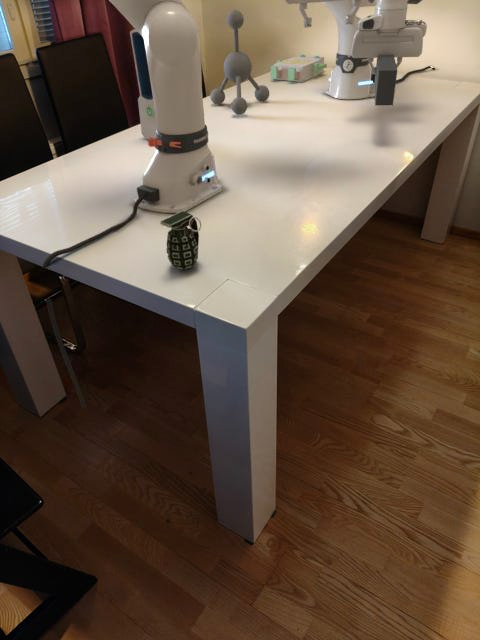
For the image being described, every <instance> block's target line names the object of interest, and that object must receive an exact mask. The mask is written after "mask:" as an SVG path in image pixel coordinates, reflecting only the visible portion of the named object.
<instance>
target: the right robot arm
mask: <svg viewBox="0 0 480 640" xmlns="http://www.w3.org/2000/svg"><path fill="white" fill-rule="evenodd" d="M422 1H423V0H361V6H360V8H369V7H374V13H373V14H369V15H368V16H364V17H362V18H361V17H359V16H357V14H356V15H355V17H354V24H352V25H347V24H346V15H350V13H351V11H352V9H353V7H354V5H352V0H345V1H330V2H322V4H323V5H324V6H325V7H326V8H327V9H328V10H329V11H330V12H331V13H332V15H333V17H334V20H335V21H336V25H337V36H338V37H337V38H338V39H337V41H338V42H337V52H336V56H335V66H334V67H333V68H332V69H331V73H330V78H328V82H329V88H328V89H326V90H325V95H328V96H331V97H332V98H335V99H340V100H360V99H366V98H375V86H374V82H375V74H376V66H374V64H373V62H374V61H375V60H374V59H377V58H378V56H382V55H394V58H396V66H397V69H398V68H399V67H400V65H401V64H402V62H403V58H419V57H420V56H421V55H422V54H423V46H424V37H425V36H426V33H427V29H428V28H427V27H428V24H427V23H426V22H425V21H423V19H407V13H408V9H409V7H408V5H419V4H420V3H421V2H422ZM430 66H431V65H427V66H425V67H423V68H420V69H415V70H411V71H408V72H406V74H405V75H403V76H402V77H401V78H399V79H396V84H397V83H400V82H403V81H404V80H405V79H406V78H407V77H408V76H409V75H412V74H415V73H416V74H417V73H420V72H421V73H422V72H423V71H427V70H429V69H431V70H432V71H435V70H436V68H435V66H433V67H434V68H431V67H430Z"/></svg>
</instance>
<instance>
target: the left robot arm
mask: <svg viewBox="0 0 480 640" xmlns="http://www.w3.org/2000/svg"><path fill="white" fill-rule="evenodd" d="M108 1H109V2H110V4H112V5H113V6H114V7H115V9H117V11H118V12H119V13H120V14H121V15H122V16H123V17H124V18H125V20H127V22H129V24H130V25H131V26H132V27H133V29H136V30H137V31H138V33H139V34H140V35H141V36H142V37H143V39H144V43H145V50H146V56H147V62H148V69H149V75H150V82H151V88H152V94H153V101H154V108H155V114H156V121H157V128H158V129H157V130H156V138H152V137H150V138H149V139H147V146H149V147H151V148H152V147H154V148H155V151H154V153H153V155H152V157H151V159H150V162H149V163H148V165H147V167H146V169H145V172H144V173H143V176H142V185H140V186H138V187H136V192H137V193H136V194H137V197H135V199H134V204H133V206H132V212H131V214H130V215H129V216H128V218H127V219H126V220H124V221H122V222H119V223H117V224H115V225H113V226H111V227H109V228H107V229H105V230H103V231H102V232H100V233H97V234H95V235H94V236H90V237H89V238H86V239H84V240H82V241H80V242H78V243H76V244H73V245H72V246H69V247H66V248H62V249H58V250H56V251H53V252H52V253H50V254H49V255H48V256H47V257H46V258H45V260H44V262H43V264H42V265H41V266H42V267H41V268H42V269H46V268H48V267H49V265H50V263H51V261H53V260H54V259H55V258H57V257H58V256H61V255H65V254H69V253H72V252H75V251H76V250H78V249H80V248H83V247H84V246H87V245H89V244H91V243H93V242H95V241H98V240H99V239H101V238H103V237H105V236H107V235H109V234H111V233H112V232H115V231H117V230H119V229H121V228H123V227H125V226H126V225H127V224H128V223H130V222H131V221H132V220H134V218H135V217H136V216H137V214H138V208H140V209H142V210H143V209H144V210H147V211H151V212H157V213H164V214H177V213H179V212H181V211H184V212H187V211H189V210H190V209H193V208H194V207H196V206H198V205H199V204H201V203H203V202H205V201H207V200H208V199H210V198H212V197H214V196H215V195H217V194H219V193H220V192H222V191H223V185H222V184H220V183H219V180H218V174H217V168H216V163H215V156H214V155H213V153H212V152H211V149H210V147H209V145H208V143H209V130H208V126H207V124H206V121H205V108H204V98H203V97H204V96H203V83H202V82H203V80H202V77H203V76H202V56H201V39H200V31H199V30H200V29H199V26H198V23H197V21H196V19H195V18H194V16H193V14H192V13H191V12H190V11H189V9H188V8H187V7H186V5H185V4H184V3H183V1H182V0H108ZM283 1H284V2H285V4H286V5H296V4H297V5H298V10H299V13H300V14H301V16H302V17H303V28H305V29H306V28H307V29H309V28H312V21H313V18H312V17H311V16H308V14H307V13H306V10H307V9H308V4H311V3H312V4H314V3H323V2H330V1H345V0H283ZM352 5H354V7H353V9H352V11H351V13H350V15H346V24H347V25H352V24H354V17H355V15H356V16H357V13H358V12H359V9H360V8H361V7H360V6H361V0H352ZM45 301H46V306H47V310H48V316H49V319H50V323H51V326H52V330H53V333H54V335H55V340H56V342H57V344H58V347H59V348H58V349H59V351H60V352H61V355H62V358H63V360H64V363H65V366H66V368H67V371H68V373H69V376H70V378H71V380H72V383H73V385H74V388H75V391H76V394H77V397H78V399H79V403H80V405H81V408H82V409H86V408H87V404H86V401H85V399H84V395H83V393H82V390H81V387H80V384H79V381H78V379H77V377H76V373H75V372H74V369H73V366H72V363H71V361H70V359H69V356H68V353H67V351H66V347H65V345H64V342H63V339H62V337H61V334H60V330H59V327H58V324H57V320H56V315H55V312H54V307H53V302H52V299H51V298H48V297H45Z"/></svg>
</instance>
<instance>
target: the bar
mask: <svg viewBox="0 0 480 640" xmlns="http://www.w3.org/2000/svg"><path fill="white" fill-rule="evenodd" d="M396 64H397V61H396V57H394V55H382V56H378V58H376V65H375V67H376V74H375V82H374V83H373V84H374V86H375V96H374V106H377V107H378V106H379V107H380V106H386V107H387V106H388V107H389V106H391V107H393V106H394V99H395V93H396V84H397V83H396V80H397V76H398V68H397V66H396Z"/></svg>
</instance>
